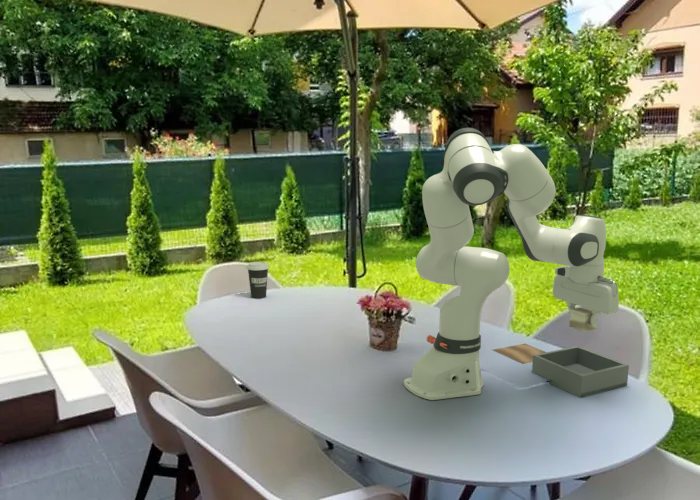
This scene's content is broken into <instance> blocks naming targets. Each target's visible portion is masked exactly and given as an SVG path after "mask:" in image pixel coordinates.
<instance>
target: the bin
mask: <svg viewBox="0 0 700 500" xmlns="http://www.w3.org/2000/svg"><path fill="white" fill-rule="evenodd" d="M545 352H546V353H541V354H536V355H533V362H532V367H531V368H532V369H531V373H534V374H536V375H539V376H540V377H543V378H545V379H547V380H546V381H547V383H548V382H549V384H550V383H551V385H553V386H554V387H557V388H560V389H561V390H563V391H566V392H567V393H570V394H572V395H574V396H576V397H579V399H581V398H585V397H588V396H592V395H597V394H600V393H603V392H604V393H605V392H607V391H611V390H616V389H620V388H623V387H626V386H628V379H629V371H630V370H629V368H630V365H629V364H626V363H624V362H622V361H619V360H616V359H613V358H611V357H609V356H606V355H603V354H600V353H598V352H594V351H592V350H589V349H587V348H584V347H581V346H580V345H576V346H571V347H565V348H561V349H557V350H552V351H545Z"/></svg>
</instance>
